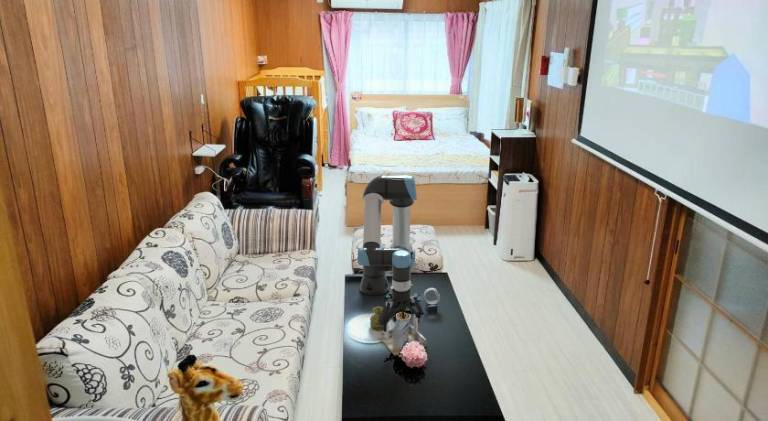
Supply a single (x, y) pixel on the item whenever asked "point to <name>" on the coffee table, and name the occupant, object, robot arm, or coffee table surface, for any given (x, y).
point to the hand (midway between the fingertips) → (401, 334)
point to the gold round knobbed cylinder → (376, 319)
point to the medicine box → (400, 334)
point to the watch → (432, 305)
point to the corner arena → (412, 337)
